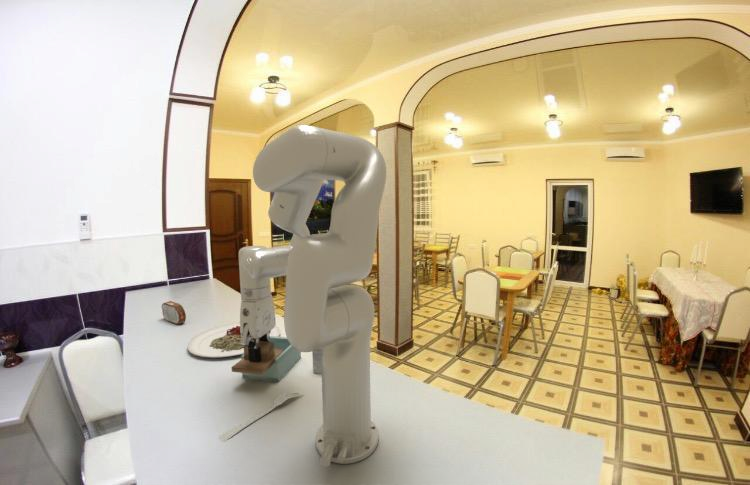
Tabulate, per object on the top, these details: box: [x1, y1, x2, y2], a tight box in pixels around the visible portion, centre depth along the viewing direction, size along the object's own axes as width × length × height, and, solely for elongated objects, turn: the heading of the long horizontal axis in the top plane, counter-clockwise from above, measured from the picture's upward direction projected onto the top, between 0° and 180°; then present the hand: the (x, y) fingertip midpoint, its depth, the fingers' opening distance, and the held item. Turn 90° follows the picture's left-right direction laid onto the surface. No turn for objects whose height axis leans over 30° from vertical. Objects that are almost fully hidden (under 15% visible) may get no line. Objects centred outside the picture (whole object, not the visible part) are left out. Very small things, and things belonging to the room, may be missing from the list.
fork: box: [218, 392, 304, 443], centre depth 72 cm, size 3×21×3 cm, turn 141°
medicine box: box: [311, 347, 324, 374], centre depth 92 cm, size 8×4×9 cm, turn 168°
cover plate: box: [231, 340, 284, 375], centre depth 85 cm, size 12×9×5 cm
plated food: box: [187, 321, 281, 358], centre depth 112 cm, size 30×30×3 cm
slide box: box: [240, 336, 302, 383], centre depth 92 cm, size 14×11×6 cm
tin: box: [161, 300, 187, 325], centre depth 131 cm, size 15×3×8 cm, turn 58°
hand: (259, 357), depth 85 cm, fingers closed on cover plate, 3 cm apart
